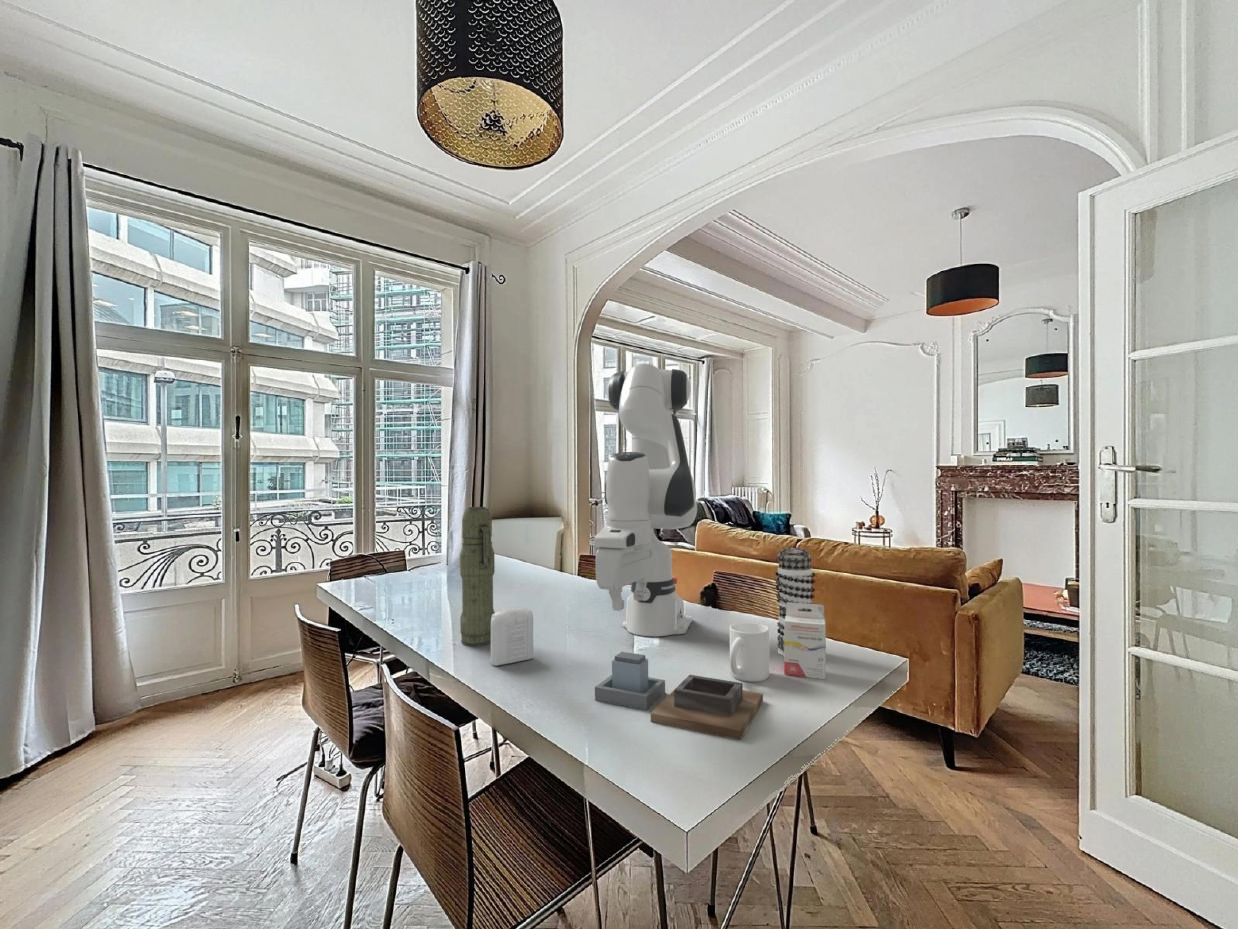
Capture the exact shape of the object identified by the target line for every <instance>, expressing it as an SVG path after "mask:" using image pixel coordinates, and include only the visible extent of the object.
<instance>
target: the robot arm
mask: <svg viewBox="0 0 1238 929" xmlns="http://www.w3.org/2000/svg"><path fill="white" fill-rule="evenodd" d="M608 379H609V380H608V384H607V385H606V386H607V387H606V395H607V399H608V401H609V402H608V403H609V404H610V406H611V407H612V408H613V409H614V410H616V411H618V413H619V414H618V415H619V416H618V417H619V420H620V423H621V425H622V426H623V427H624V429H625V430H626V431H627V432H628V433H629V434H631V451H624V452H616V453H614V454H611V456H609V457H608V462H607V471H606V472H607V473H606V480H605V482H604V503H605V504H606V505H607V513H606V516H605V518H606V519H605V525H604V526H603V528H602V530H600V531H599V532H598V533H597V534H596V535H595V536H594V540H593V544H594V547H595V548H597V549H596V552H595V580H596V584H597V586H598V588H599V589H601V590H605V591H606V590H607V591H608V595H609V597H610V599H611V602H612V603H611V604H612V610H613V611H617V612H620V611H622V610H624V609H625V600H624V599H623V598H622V593H623V587H625V586H628V585H630V592H631V594H630V595H629V596H628V597H627V599H626V613H625V620H624V621H622V623H621V626H622V627H623V628H625V629H626V630H627V632H629V633H630V634H633V635H637V636H643V637H665V636H671V635H683V634H686V633H687V631H688V630H689V628H690V626H691V624H692V622H693V616H691V615H687V614H685V602H684V600H683V599H682V597H680V595H678V593H677V592H676V584H678V578H677V576H673V553H672V550H671V549H670V547H669V546H668V544H666V543H664V542H662V541H661V540H659V539H658V537H657V536H656V534H655V531H654V529H655V530H656V529H659V530H678V529H683V528H689V527H690V526H691V525H692V524H693V523H694V521H695V519H696V516H697V515H698V514H697V513H698V505H697V502H696V498H697V489H696V484H695V481H694V478H693V476H692V474H691V469H690V466H689V461H688V460H689V459H688V456H687V451H686V446H685V440H684V436H683V432H682V426H681V424H680V421H679V418H678V417H677V412H678V411H680V410H682V409H684V407H685V406H686V405H687V404H688V401H689V398H690V396H691V391H692V390H691V389H692V387H691V382H690V380H689V379H690V378H688V375H687V373H686V372H685V371H683V370H682V369H675V368H674V369H673V368H672V369H664V368H663V369H661V368H658V367H656V366H655V365H653V364H651V363H638V364H636V365H634V366H632V367H631V368H630V369H629V370H628V371H625V370H623V371H619V372H616V373H614V374H612V375H611V376H610V377H609V378H608ZM670 410H671V411H672V413H671V412H670ZM690 623H691V624H690ZM688 627H689V628H688Z"/></svg>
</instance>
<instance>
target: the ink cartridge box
mask: <svg viewBox="0 0 1238 929" xmlns="http://www.w3.org/2000/svg"><path fill="white" fill-rule="evenodd" d="M804 607H805V608H807V609H811V610H812V611H811V612H805V611H799V610H798V609H799V608H804ZM826 627H827V626H826V618H825V606H824V605H823V604H815V603H814V604H804V603H790V602H787V603H786V616H785V622H784V656H783V657H784V658H783V660H784V661H783V663H784V665H783V667H784V671H783V672H784V676H795V677H802V678H803V677H804V678H810V679H812V678H813V679H820V680H826V678H827V677H826V676H827V674H826V673H827V672H826V668H827V666H826V665H827V664H826V662H827V656H826V655H827V639H826V638H827V637H826V636H827V634H826V632H827V631H826Z"/></svg>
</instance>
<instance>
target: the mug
mask: <svg viewBox="0 0 1238 929" xmlns="http://www.w3.org/2000/svg"><path fill="white" fill-rule="evenodd" d="M770 669H771V667H770V629H769V627H768V626H767V625H765V624H761V623H756V622H736V623H733V624H730V625H729V671H730V674H731V676H732V677H733V678H734V679H736V680H738V681H742V682H748V683H760V682H763V681H766V680H767V679H768V678H769V677H770V671H771V670H770Z"/></svg>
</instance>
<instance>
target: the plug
mask: <svg viewBox="0 0 1238 929" xmlns="http://www.w3.org/2000/svg"><path fill="white" fill-rule="evenodd" d="M611 675H612V688H615V689H621V690H626V691H632V692H637V693H643V694H644V693H645V692H647V691H648V690H649V686H648V677H649V658H646V654H641V653H640V654H639V653H634V652H633V653H632V652H626V651H620V652H619V653H617V654H616V655H614V659H613V660H611Z"/></svg>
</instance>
